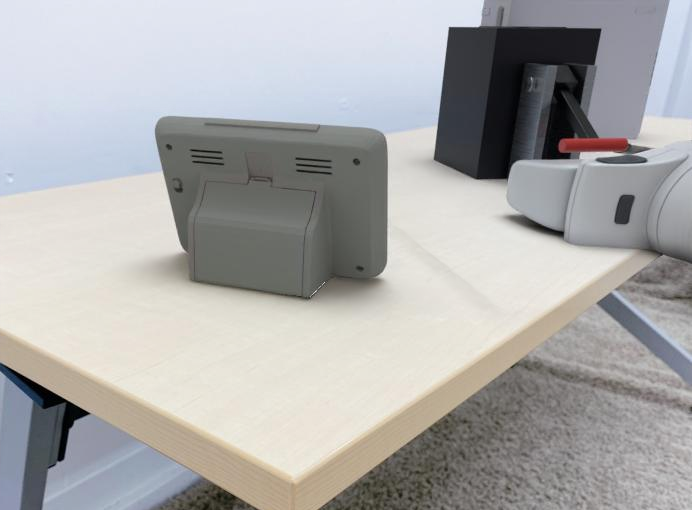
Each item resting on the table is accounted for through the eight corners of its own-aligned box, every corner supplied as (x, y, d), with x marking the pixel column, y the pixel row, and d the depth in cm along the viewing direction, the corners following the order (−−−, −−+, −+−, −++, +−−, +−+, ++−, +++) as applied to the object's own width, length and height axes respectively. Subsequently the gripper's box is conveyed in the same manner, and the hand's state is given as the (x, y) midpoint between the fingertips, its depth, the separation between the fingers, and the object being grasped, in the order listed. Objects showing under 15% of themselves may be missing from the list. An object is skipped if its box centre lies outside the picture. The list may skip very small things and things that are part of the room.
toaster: (570, 188, 77) (602, 27, 70) (474, 191, 75) (497, 26, 69) (517, 168, 88) (540, 26, 81) (432, 169, 86) (448, 25, 80)
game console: (456, 157, 94) (476, -9, 86) (601, 145, 105) (631, -4, 97) (486, 165, 89) (512, -11, 81) (635, 151, 100) (671, -6, 92)
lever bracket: (582, 201, 72) (609, 65, 66) (516, 202, 71) (539, 66, 65) (555, 190, 76) (579, 63, 71) (494, 191, 75) (513, 63, 70)
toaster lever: (619, 159, 65) (633, 138, 63) (558, 160, 64) (570, 139, 62) (574, 85, 71) (585, 64, 69) (518, 86, 70) (528, 64, 68)
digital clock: (398, 278, 49) (414, 120, 45) (337, 318, 43) (348, 137, 38) (213, 240, 58) (212, 104, 54) (138, 268, 51) (129, 115, 47)
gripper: (826, 159, 53) (695, 131, 65) (569, 163, 50) (485, 133, 63) (798, 240, 55) (677, 199, 68) (552, 248, 53) (474, 203, 65)
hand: (583, 167), depth 65 cm, fingers open, 8 cm apart
